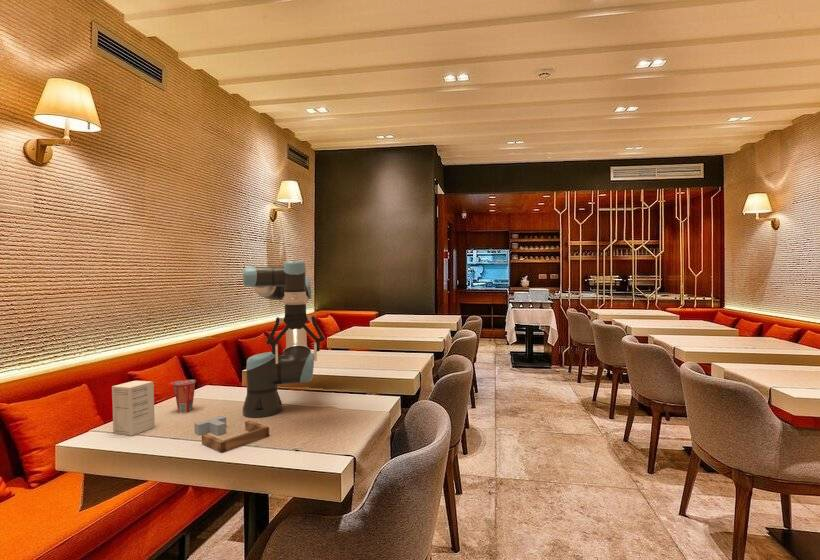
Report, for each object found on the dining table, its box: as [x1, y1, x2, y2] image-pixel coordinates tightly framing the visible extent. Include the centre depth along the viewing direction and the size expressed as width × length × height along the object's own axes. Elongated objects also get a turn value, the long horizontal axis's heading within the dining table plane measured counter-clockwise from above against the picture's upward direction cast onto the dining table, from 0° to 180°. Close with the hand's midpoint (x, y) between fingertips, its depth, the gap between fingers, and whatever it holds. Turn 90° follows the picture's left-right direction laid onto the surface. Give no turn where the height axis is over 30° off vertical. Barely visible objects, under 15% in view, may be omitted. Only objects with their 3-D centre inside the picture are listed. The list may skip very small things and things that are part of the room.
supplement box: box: [111, 380, 156, 437], centre depth 152 cm, size 10×9×17 cm
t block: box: [194, 415, 227, 437], centre depth 149 cm, size 9×10×4 cm
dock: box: [201, 420, 270, 454], centre depth 141 cm, size 12×17×3 cm
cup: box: [168, 379, 197, 414], centre depth 174 cm, size 9×8×12 cm
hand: (296, 361), depth 154 cm, fingers open, 13 cm apart
